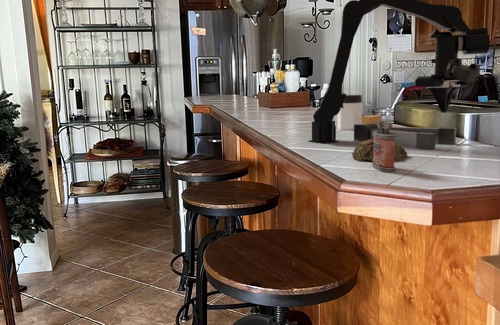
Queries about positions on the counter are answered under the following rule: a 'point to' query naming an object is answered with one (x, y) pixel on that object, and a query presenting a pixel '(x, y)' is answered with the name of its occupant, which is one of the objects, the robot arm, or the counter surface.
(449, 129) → the tong arm
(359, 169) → the counter surface
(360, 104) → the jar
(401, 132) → the tongs base
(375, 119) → the lock tab
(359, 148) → the bread roll
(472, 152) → the counter surface
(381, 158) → the lighter
